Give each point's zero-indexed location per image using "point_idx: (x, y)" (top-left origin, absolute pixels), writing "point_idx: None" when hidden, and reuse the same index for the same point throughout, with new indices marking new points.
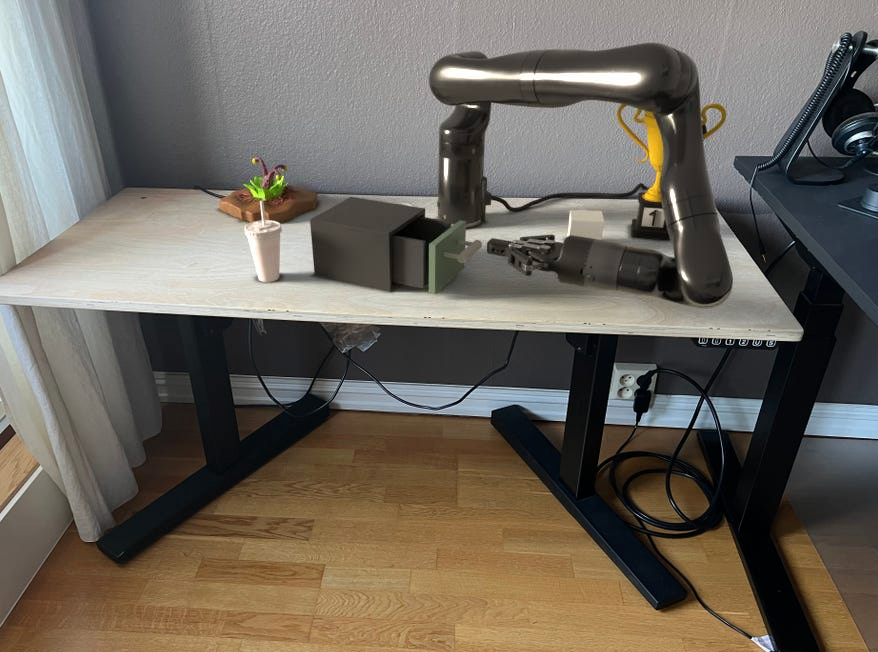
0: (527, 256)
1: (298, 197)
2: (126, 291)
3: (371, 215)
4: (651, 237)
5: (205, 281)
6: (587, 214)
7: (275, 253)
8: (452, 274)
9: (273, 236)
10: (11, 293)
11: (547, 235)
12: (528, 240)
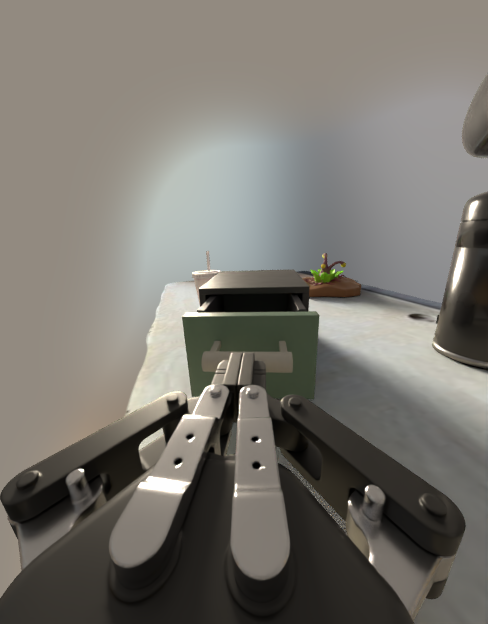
0: (81, 464)
1: (336, 285)
2: (174, 295)
3: (250, 278)
4: None
5: (195, 303)
6: None
7: None
8: None
9: (200, 279)
10: (167, 285)
11: (413, 482)
12: (250, 418)
